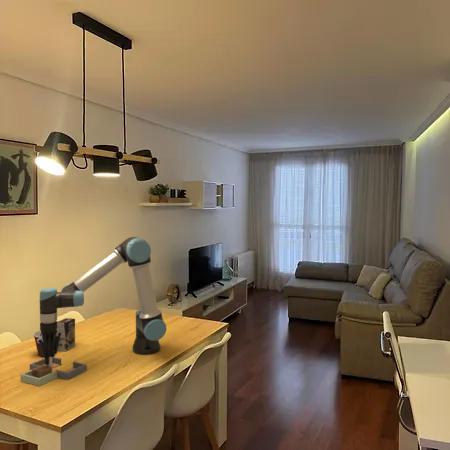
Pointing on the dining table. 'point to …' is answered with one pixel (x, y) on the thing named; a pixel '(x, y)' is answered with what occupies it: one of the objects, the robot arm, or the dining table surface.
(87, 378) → the dining table surface
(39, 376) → the walnut block
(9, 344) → the dining table surface
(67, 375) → the channel
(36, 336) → the plastic cup
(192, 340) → the dining table surface
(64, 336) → the coffee box
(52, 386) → the dining table surface
